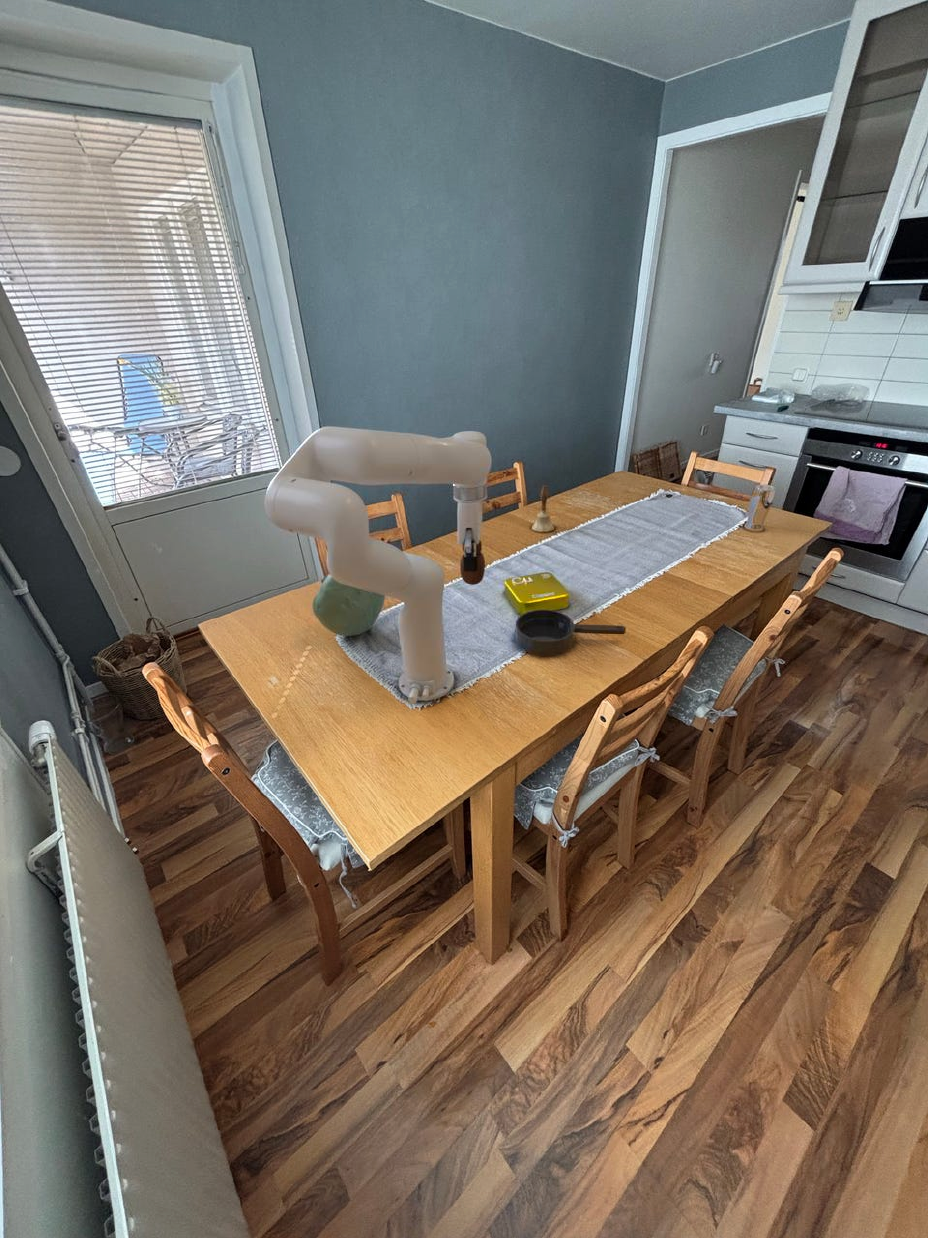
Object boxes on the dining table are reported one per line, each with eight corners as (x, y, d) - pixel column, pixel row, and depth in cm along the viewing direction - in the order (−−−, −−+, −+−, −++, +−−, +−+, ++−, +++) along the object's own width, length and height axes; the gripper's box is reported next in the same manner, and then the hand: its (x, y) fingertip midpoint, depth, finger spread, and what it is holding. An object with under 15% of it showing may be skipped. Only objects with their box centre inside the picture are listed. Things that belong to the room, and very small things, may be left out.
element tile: (520, 617, 137) (520, 602, 135) (502, 591, 150) (502, 577, 147) (571, 607, 140) (572, 592, 138) (549, 583, 153) (550, 569, 150)
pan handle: (625, 635, 123) (626, 630, 123) (572, 633, 125) (573, 628, 124) (624, 630, 125) (625, 625, 124) (572, 628, 127) (572, 623, 126)
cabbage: (309, 634, 134) (292, 567, 124) (368, 607, 145) (357, 543, 134) (340, 658, 124) (324, 588, 114) (401, 628, 135) (392, 560, 124)
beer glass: (744, 531, 179) (755, 490, 171) (741, 524, 185) (752, 483, 177) (766, 532, 177) (778, 491, 169) (762, 525, 183) (774, 484, 175)
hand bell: (527, 526, 191) (528, 485, 182) (546, 522, 193) (548, 481, 185) (539, 534, 184) (541, 491, 176) (558, 529, 187) (561, 487, 178)
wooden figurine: (482, 588, 120) (481, 529, 112) (458, 587, 121) (455, 528, 113) (487, 575, 126) (486, 518, 118) (464, 574, 127) (462, 517, 119)
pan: (575, 657, 121) (576, 642, 119) (514, 655, 123) (514, 640, 120) (571, 624, 133) (572, 610, 131) (516, 623, 135) (516, 608, 133)
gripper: (458, 479, 119) (461, 548, 129) (447, 504, 105) (452, 580, 114) (490, 478, 118) (490, 548, 128) (483, 504, 104) (485, 581, 113)
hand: (472, 563), depth 121 cm, fingers closed on wooden figurine, 6 cm apart
